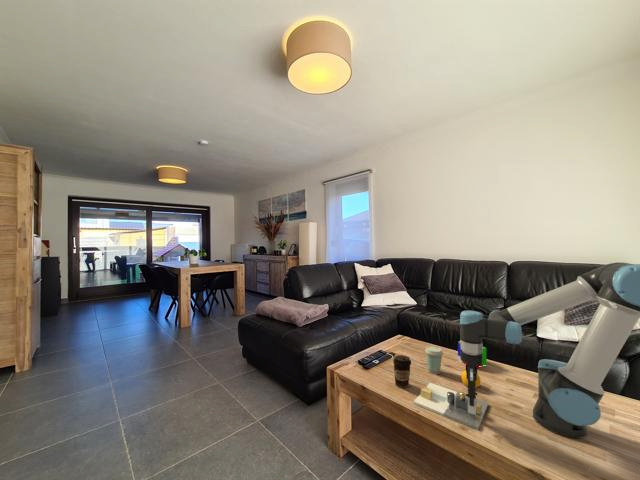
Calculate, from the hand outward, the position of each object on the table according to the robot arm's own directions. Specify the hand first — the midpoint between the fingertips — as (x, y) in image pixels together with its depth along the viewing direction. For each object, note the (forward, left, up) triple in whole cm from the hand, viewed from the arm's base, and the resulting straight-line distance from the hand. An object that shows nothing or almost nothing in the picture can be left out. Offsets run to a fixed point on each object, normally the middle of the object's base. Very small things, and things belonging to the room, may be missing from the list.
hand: (471, 412), depth 103 cm
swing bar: (+2, -4, -1) cm, 5 cm away
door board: (+15, -4, -3) cm, 16 cm away
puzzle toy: (+11, -53, -3) cm, 55 cm away
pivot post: (+9, -4, -3) cm, 10 cm away
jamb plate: (+3, -4, -3) cm, 6 cm away
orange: (+6, -26, -3) cm, 27 cm away
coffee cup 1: (+31, -5, -3) cm, 31 cm away
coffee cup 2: (+24, -29, -3) cm, 38 cm away
